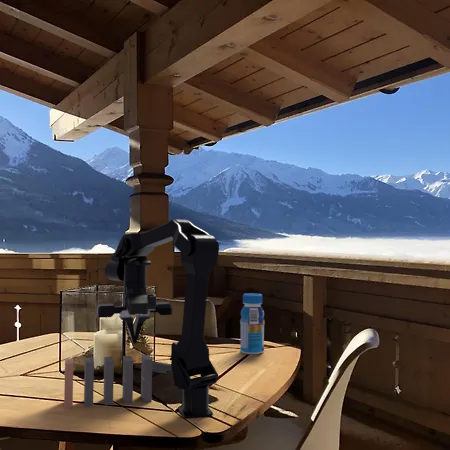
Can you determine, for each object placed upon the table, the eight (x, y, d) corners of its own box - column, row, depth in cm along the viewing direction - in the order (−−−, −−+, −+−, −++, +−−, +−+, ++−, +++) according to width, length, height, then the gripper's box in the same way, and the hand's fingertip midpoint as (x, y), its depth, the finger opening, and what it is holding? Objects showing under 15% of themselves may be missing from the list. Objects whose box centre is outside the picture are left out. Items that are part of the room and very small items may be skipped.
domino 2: (91, 399, 123) (92, 357, 123) (93, 406, 118) (94, 362, 118) (84, 400, 122) (84, 358, 123) (85, 406, 118) (85, 362, 118)
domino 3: (111, 398, 124) (111, 356, 125) (113, 404, 120) (113, 361, 120) (103, 398, 124) (104, 357, 124) (105, 405, 119) (105, 361, 119)
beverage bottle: (235, 352, 176) (235, 294, 177) (248, 348, 183) (248, 292, 184) (256, 356, 171) (256, 296, 172) (268, 351, 178) (269, 294, 179)
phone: (142, 359, 161) (182, 365, 154) (142, 363, 161) (182, 369, 154) (126, 365, 154) (167, 371, 147) (126, 368, 154) (167, 375, 147)
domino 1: (72, 401, 122) (73, 358, 122) (72, 408, 117) (73, 363, 117) (64, 402, 121) (65, 359, 121) (64, 408, 116) (65, 364, 117)
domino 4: (129, 396, 126) (130, 355, 126) (132, 403, 121) (133, 360, 121) (122, 397, 125) (123, 356, 125) (124, 403, 120) (125, 360, 121)
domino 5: (148, 395, 127) (148, 354, 127) (151, 401, 122) (152, 359, 122) (140, 395, 126) (141, 355, 127) (144, 402, 122) (144, 359, 122)
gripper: (100, 285, 122) (99, 351, 122) (177, 284, 128) (176, 347, 127) (97, 282, 133) (96, 343, 132) (168, 281, 139) (167, 339, 138)
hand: (134, 343), depth 132 cm, fingers closed
